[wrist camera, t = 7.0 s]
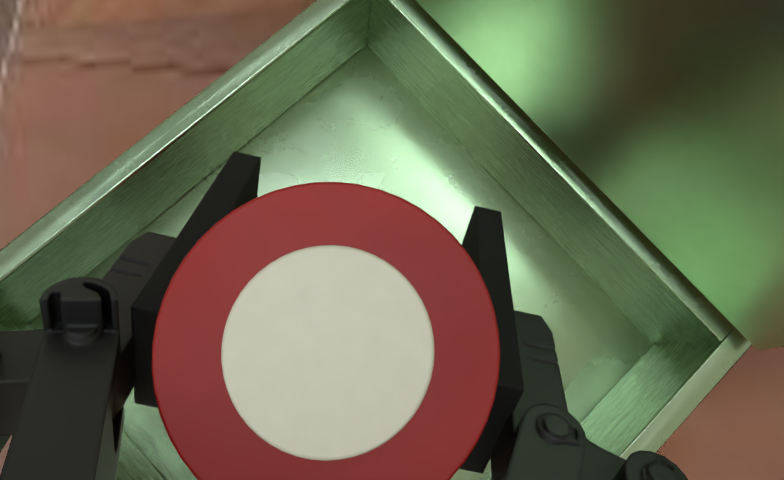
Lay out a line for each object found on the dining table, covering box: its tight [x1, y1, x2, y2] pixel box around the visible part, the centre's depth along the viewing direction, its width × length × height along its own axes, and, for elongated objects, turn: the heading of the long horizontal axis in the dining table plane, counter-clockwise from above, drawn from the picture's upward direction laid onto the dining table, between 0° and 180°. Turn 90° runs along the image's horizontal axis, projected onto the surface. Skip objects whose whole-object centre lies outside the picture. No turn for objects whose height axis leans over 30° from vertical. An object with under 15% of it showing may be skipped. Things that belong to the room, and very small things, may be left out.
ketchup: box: [152, 182, 500, 480], centre depth 15 cm, size 6×6×14 cm
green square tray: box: [0, 0, 752, 480], centre depth 22 cm, size 19×19×5 cm
